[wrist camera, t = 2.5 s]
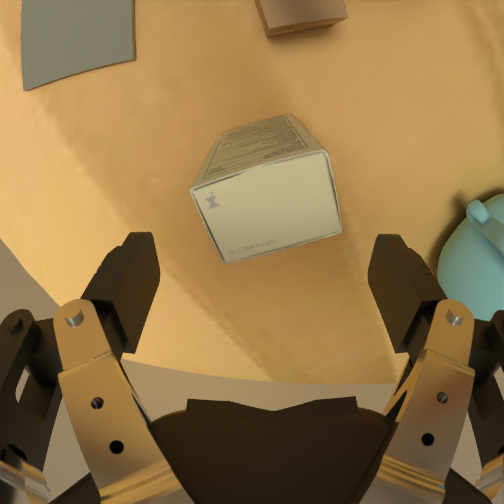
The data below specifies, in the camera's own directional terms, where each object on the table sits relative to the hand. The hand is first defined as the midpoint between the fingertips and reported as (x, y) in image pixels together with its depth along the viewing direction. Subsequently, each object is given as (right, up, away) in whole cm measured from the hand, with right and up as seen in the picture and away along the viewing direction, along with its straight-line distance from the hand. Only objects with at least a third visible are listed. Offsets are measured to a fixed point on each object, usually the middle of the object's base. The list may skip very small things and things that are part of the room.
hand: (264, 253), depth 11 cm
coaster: (-16, +20, +5) cm, 26 cm away
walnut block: (+2, +19, +6) cm, 20 cm away
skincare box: (0, +9, +13) cm, 16 cm away
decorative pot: (+26, +1, +17) cm, 32 cm away
